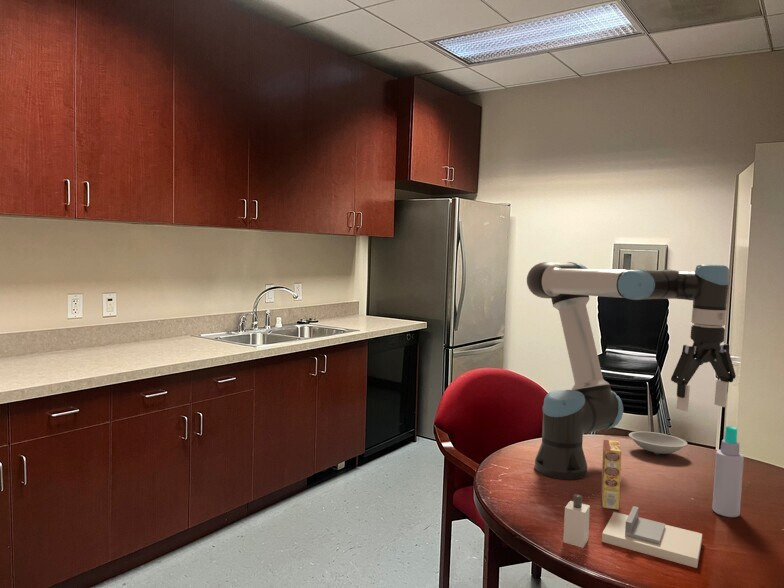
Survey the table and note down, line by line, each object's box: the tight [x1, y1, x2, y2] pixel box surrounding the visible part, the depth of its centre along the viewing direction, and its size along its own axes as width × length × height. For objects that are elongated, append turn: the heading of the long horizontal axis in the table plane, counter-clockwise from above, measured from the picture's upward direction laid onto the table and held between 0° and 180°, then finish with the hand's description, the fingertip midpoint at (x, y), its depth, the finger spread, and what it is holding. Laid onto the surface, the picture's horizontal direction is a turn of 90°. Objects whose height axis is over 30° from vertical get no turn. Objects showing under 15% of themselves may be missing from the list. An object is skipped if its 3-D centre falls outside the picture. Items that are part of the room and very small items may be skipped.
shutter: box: [625, 505, 666, 544], centre depth 129 cm, size 7×10×3 cm
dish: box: [628, 431, 688, 455], centre depth 188 cm, size 18×14×5 cm
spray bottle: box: [711, 425, 745, 518], centre depth 144 cm, size 6×6×22 cm
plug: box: [562, 494, 591, 549], centre depth 128 cm, size 4×4×10 cm
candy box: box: [601, 439, 622, 510], centre depth 149 cm, size 9×4×15 cm, turn 162°
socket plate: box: [601, 511, 703, 569], centre depth 129 cm, size 19×13×2 cm
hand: (701, 407), depth 146 cm, fingers open, 13 cm apart
